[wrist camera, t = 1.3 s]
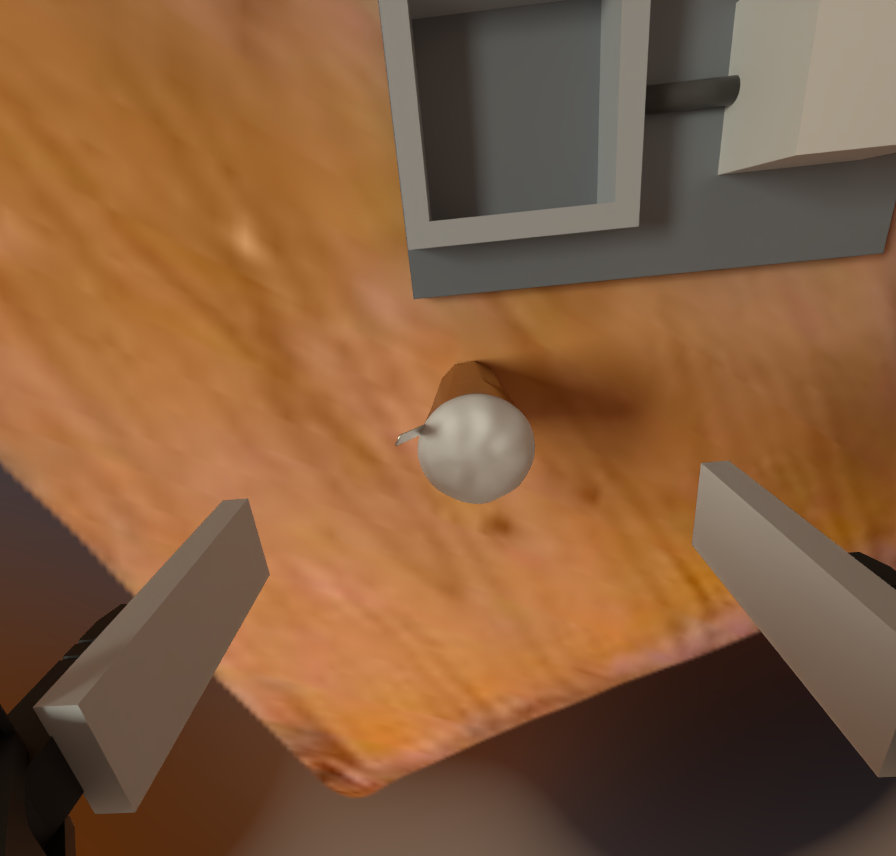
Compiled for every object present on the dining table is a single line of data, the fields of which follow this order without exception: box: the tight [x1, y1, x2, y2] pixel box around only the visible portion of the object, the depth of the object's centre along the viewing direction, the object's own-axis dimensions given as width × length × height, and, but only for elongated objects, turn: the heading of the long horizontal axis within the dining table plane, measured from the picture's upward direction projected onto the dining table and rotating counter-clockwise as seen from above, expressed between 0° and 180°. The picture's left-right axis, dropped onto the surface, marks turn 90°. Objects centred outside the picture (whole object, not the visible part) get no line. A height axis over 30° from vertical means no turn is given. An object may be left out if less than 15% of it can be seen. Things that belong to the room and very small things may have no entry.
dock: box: [378, 0, 896, 299], centre depth 18 cm, size 14×22×6 cm, turn 95°
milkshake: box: [395, 361, 535, 504], centre depth 21 cm, size 4×5×10 cm
